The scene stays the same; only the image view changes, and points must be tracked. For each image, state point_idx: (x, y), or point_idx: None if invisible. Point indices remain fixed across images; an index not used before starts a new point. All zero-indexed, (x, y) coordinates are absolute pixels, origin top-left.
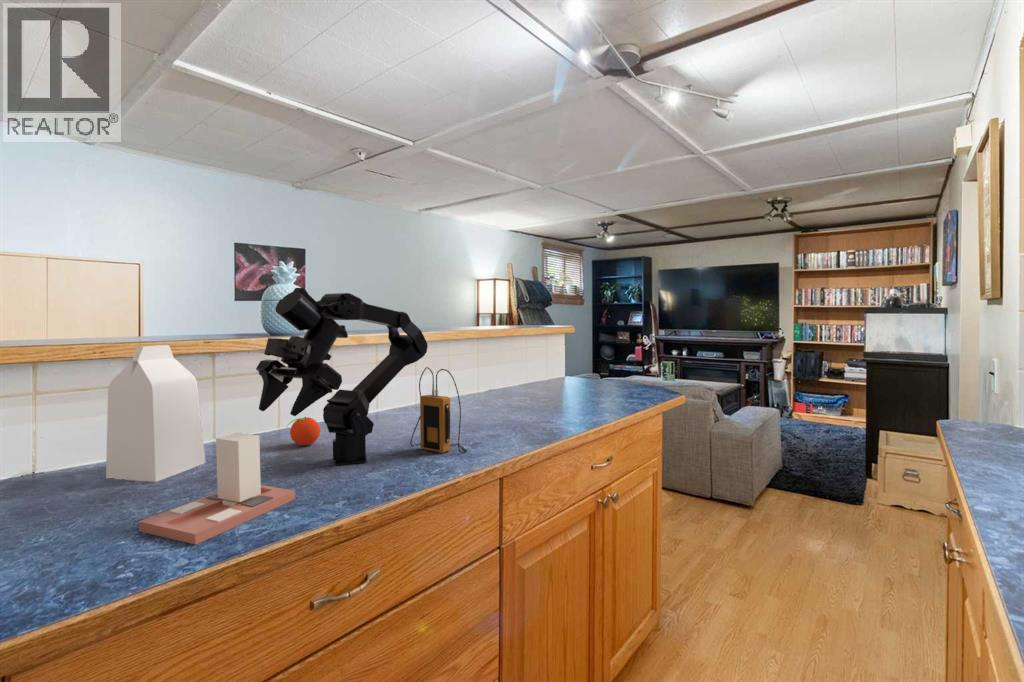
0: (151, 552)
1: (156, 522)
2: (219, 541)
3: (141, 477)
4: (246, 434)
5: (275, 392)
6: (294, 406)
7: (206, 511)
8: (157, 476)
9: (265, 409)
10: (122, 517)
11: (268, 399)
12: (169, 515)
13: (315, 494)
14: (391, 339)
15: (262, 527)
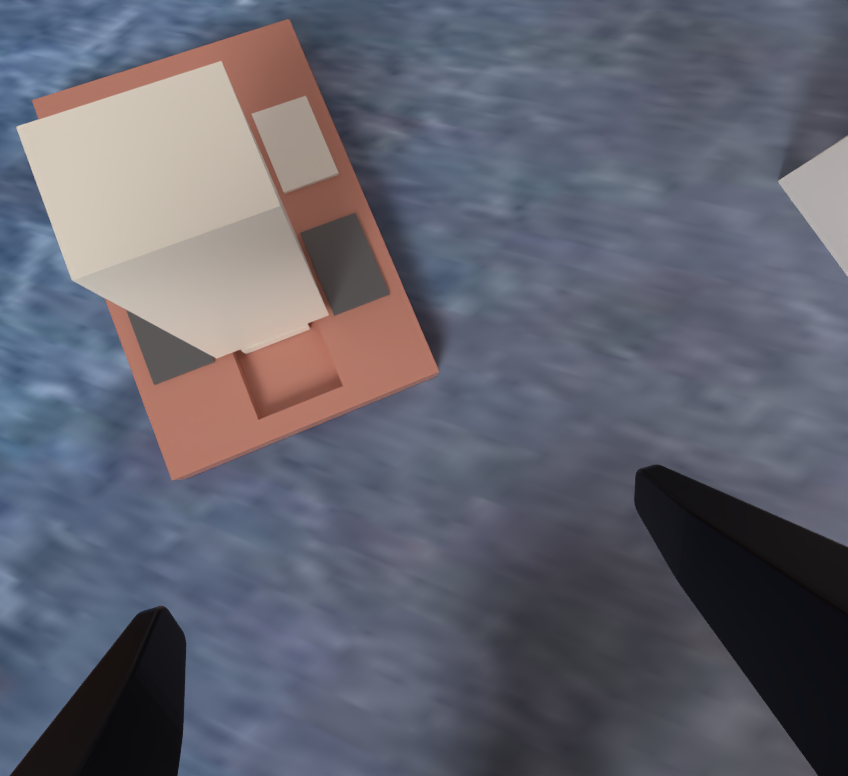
0: (103, 33)
1: (234, 49)
2: (22, 173)
3: (835, 143)
4: (180, 230)
5: (840, 738)
6: (99, 677)
7: None
8: (796, 178)
9: (646, 527)
10: (458, 36)
11: (730, 591)
12: (268, 89)
13: (174, 559)
14: None
15: (18, 297)
